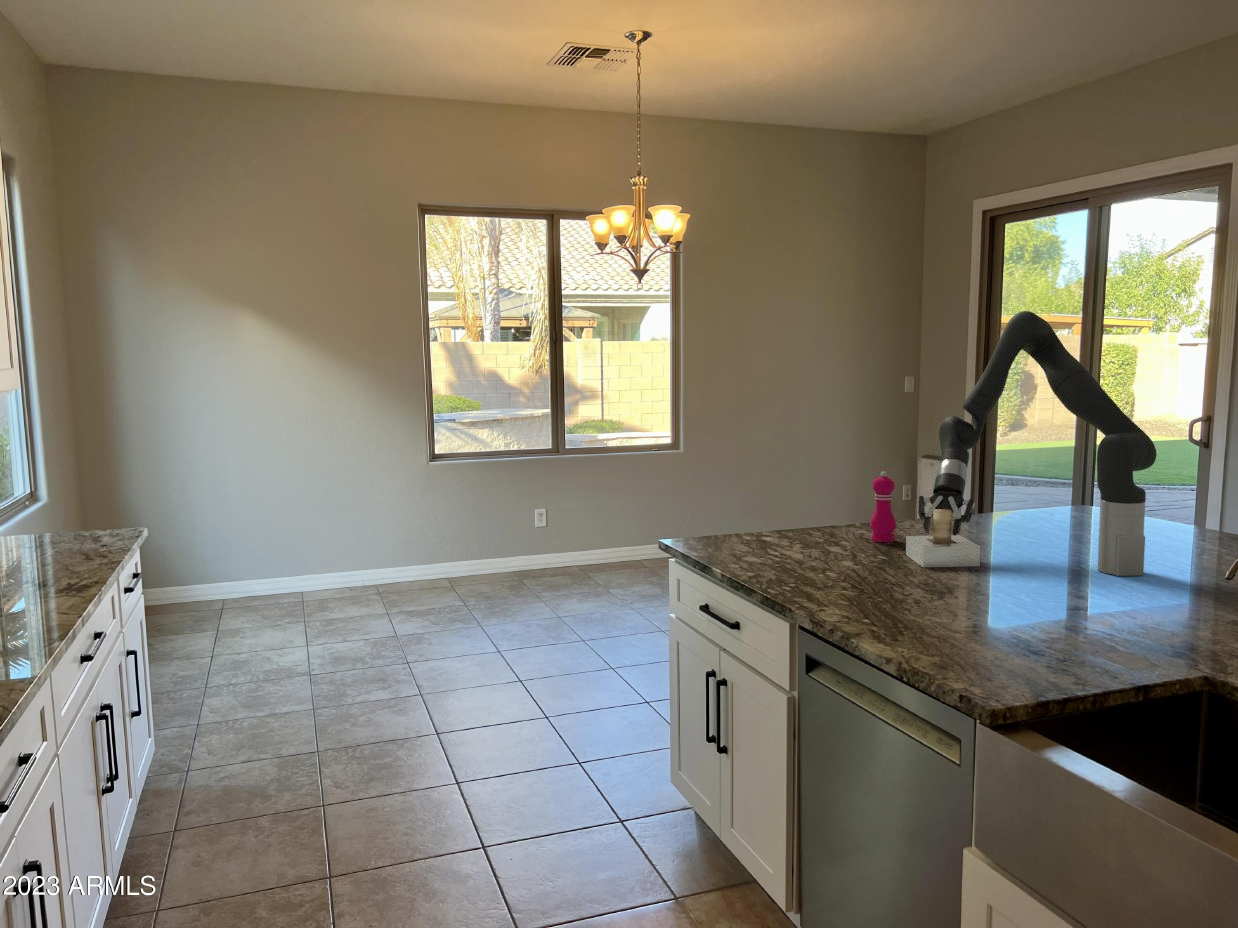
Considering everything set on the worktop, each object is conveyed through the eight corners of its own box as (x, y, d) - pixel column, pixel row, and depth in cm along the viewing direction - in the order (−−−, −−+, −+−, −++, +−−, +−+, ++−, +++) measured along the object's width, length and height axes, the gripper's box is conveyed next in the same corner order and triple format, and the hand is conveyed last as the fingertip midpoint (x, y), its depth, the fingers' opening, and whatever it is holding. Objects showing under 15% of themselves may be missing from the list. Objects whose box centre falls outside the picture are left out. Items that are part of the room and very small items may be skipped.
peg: (953, 561, 219) (954, 511, 217) (935, 562, 219) (936, 512, 218) (947, 557, 223) (948, 508, 222) (930, 558, 224) (930, 509, 222)
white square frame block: (979, 566, 214) (980, 546, 213) (923, 567, 214) (923, 547, 214) (958, 553, 228) (959, 534, 227) (905, 554, 228) (906, 536, 228)
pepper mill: (893, 537, 249) (893, 469, 247) (898, 543, 242) (899, 472, 240) (867, 537, 250) (868, 469, 248) (872, 543, 243) (873, 473, 241)
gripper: (920, 470, 229) (909, 522, 220) (978, 472, 221) (969, 526, 212) (924, 487, 234) (913, 538, 225) (981, 490, 226) (972, 543, 218)
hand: (940, 532), depth 219 cm, fingers open, 6 cm apart
